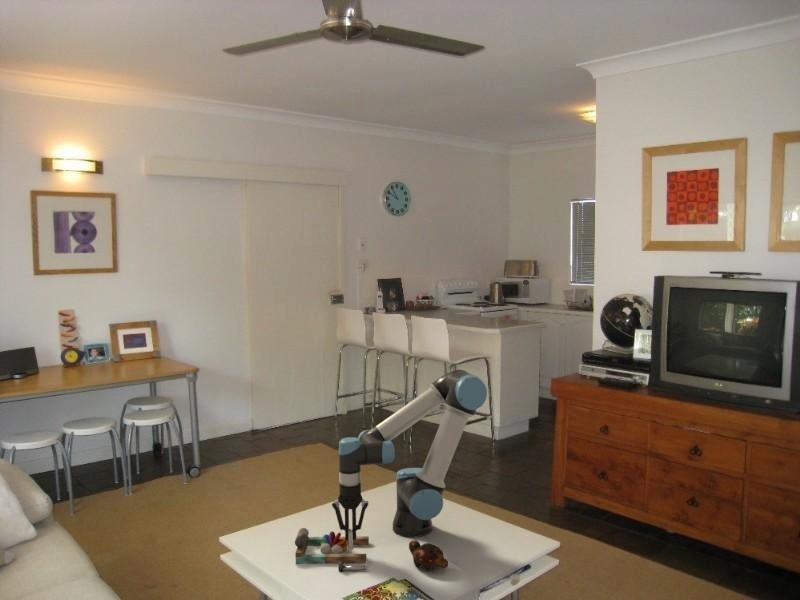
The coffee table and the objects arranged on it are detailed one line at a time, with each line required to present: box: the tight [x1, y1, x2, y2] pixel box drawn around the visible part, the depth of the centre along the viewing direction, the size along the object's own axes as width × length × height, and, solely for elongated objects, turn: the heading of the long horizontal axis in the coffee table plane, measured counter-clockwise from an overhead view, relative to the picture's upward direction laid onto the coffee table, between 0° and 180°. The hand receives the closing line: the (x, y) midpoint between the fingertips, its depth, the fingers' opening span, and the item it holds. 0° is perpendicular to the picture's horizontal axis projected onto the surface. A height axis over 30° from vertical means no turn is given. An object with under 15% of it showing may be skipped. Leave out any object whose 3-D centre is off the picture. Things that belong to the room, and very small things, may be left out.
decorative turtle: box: [408, 539, 449, 572], centre depth 224 cm, size 10×15×8 cm, turn 60°
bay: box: [294, 527, 370, 565], centre depth 235 cm, size 25×16×8 cm, turn 89°
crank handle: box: [337, 561, 369, 573], centre depth 222 cm, size 10×2×3 cm, turn 89°
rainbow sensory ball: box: [320, 530, 348, 554], centre depth 236 cm, size 8×10×7 cm
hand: (350, 548), depth 235 cm, fingers closed
